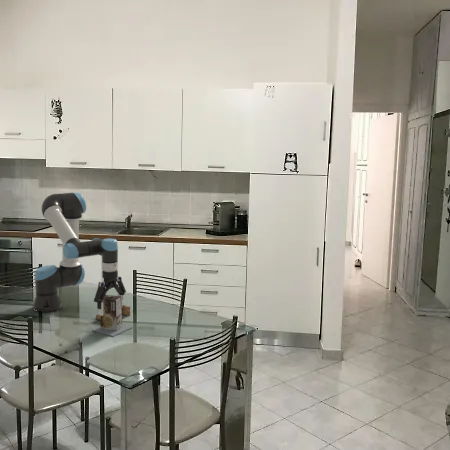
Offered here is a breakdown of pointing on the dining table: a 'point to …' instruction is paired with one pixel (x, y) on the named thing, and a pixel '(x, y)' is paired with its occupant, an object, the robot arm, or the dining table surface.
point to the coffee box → (111, 313)
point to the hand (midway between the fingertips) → (110, 310)
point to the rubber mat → (113, 332)
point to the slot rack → (124, 311)
